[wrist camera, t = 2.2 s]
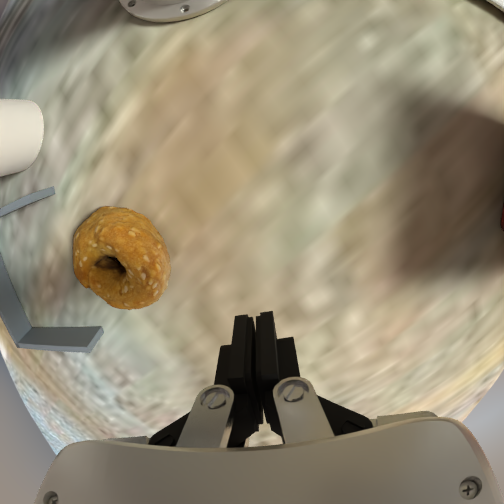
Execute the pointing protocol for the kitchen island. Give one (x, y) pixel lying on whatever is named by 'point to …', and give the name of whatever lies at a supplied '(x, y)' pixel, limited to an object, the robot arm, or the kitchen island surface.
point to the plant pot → (503, 220)
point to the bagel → (121, 258)
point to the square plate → (498, 4)
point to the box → (9, 308)
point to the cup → (19, 134)
